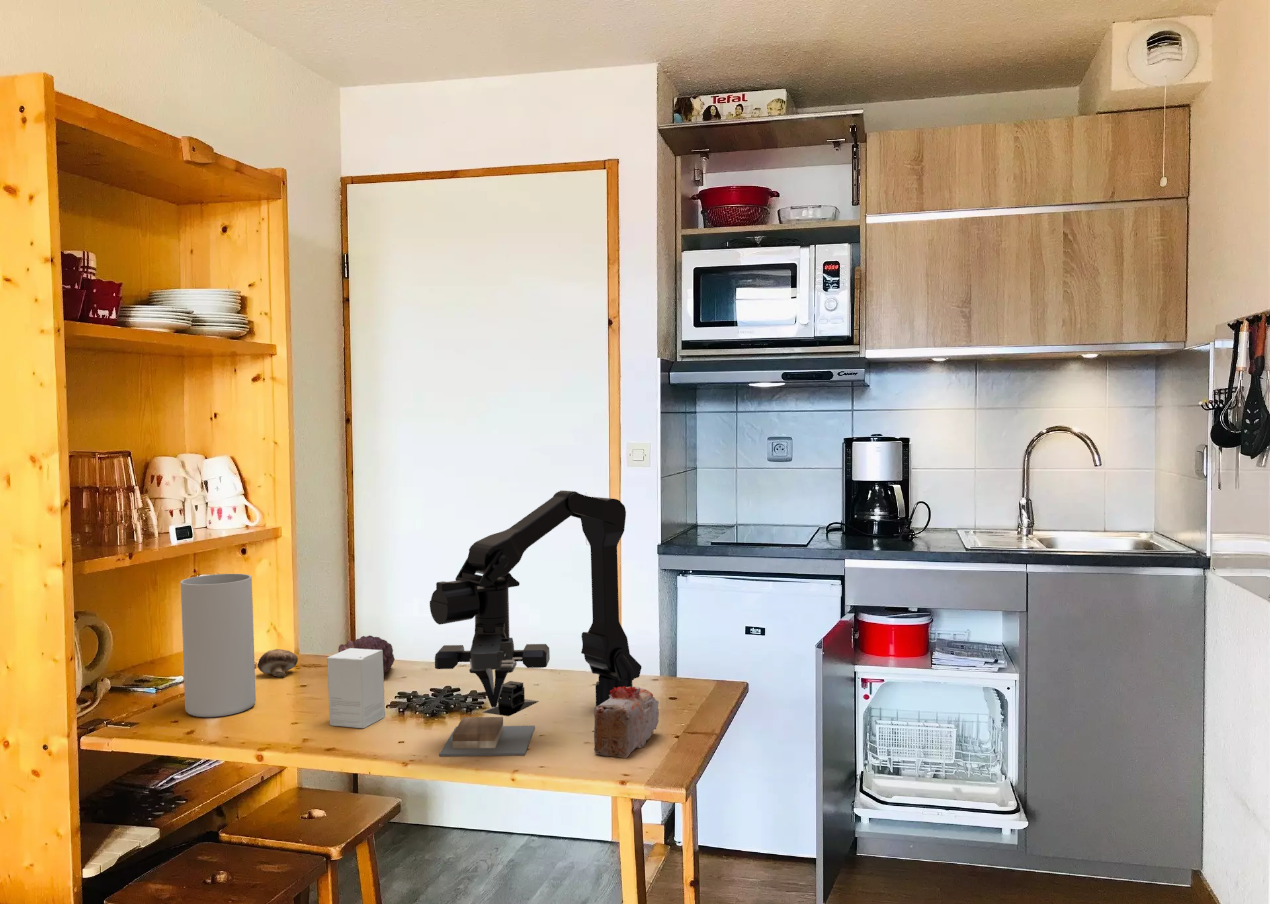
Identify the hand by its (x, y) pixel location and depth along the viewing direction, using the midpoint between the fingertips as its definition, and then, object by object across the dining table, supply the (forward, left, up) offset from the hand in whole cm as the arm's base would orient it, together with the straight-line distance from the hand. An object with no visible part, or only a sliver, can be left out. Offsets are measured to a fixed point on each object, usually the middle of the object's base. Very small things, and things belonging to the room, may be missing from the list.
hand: (494, 706), depth 168 cm
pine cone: (+33, -41, -6) cm, 53 cm away
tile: (-1, 0, -4) cm, 4 cm away
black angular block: (0, -20, -7) cm, 21 cm away
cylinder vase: (+56, -21, -6) cm, 60 cm away
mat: (+1, 0, -6) cm, 6 cm away
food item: (-22, +2, -6) cm, 23 cm away
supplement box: (+27, -12, -6) cm, 30 cm away
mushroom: (+54, -45, -6) cm, 71 cm away
